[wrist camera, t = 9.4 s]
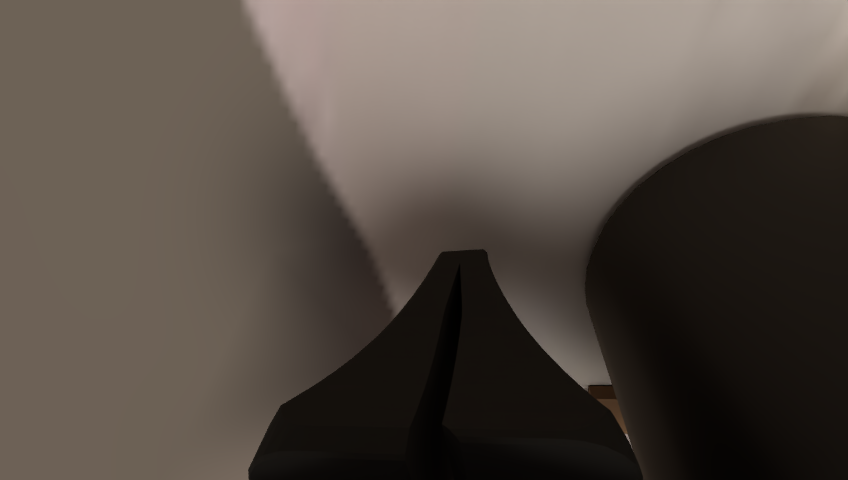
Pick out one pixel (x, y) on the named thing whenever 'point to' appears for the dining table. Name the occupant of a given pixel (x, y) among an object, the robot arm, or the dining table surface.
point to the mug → (732, 307)
